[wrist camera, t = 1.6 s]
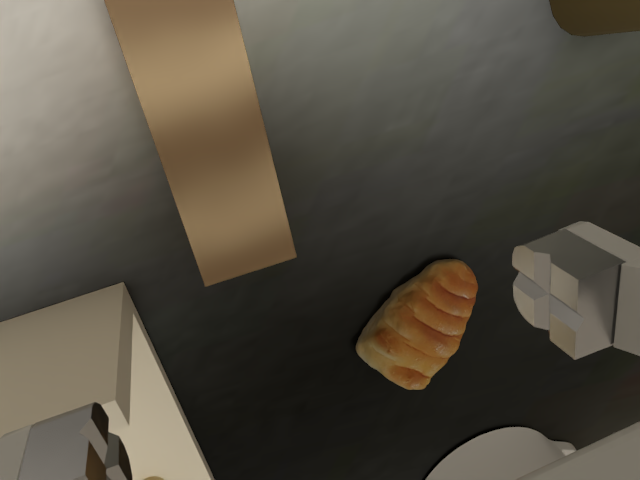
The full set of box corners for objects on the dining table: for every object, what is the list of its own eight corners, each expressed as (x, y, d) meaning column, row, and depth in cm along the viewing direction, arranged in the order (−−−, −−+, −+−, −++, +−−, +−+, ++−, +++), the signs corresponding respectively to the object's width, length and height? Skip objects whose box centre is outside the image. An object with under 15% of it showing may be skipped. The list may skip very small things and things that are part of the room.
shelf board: (279, 228, 31) (296, 257, 28) (198, 254, 30) (205, 286, 27) (213, -29, 25) (225, -34, 21) (107, -7, 24) (101, -8, 20)
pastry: (420, 235, 34) (450, 260, 31) (486, 272, 38) (519, 299, 34) (343, 347, 36) (364, 381, 33) (412, 373, 39) (437, 408, 36)
